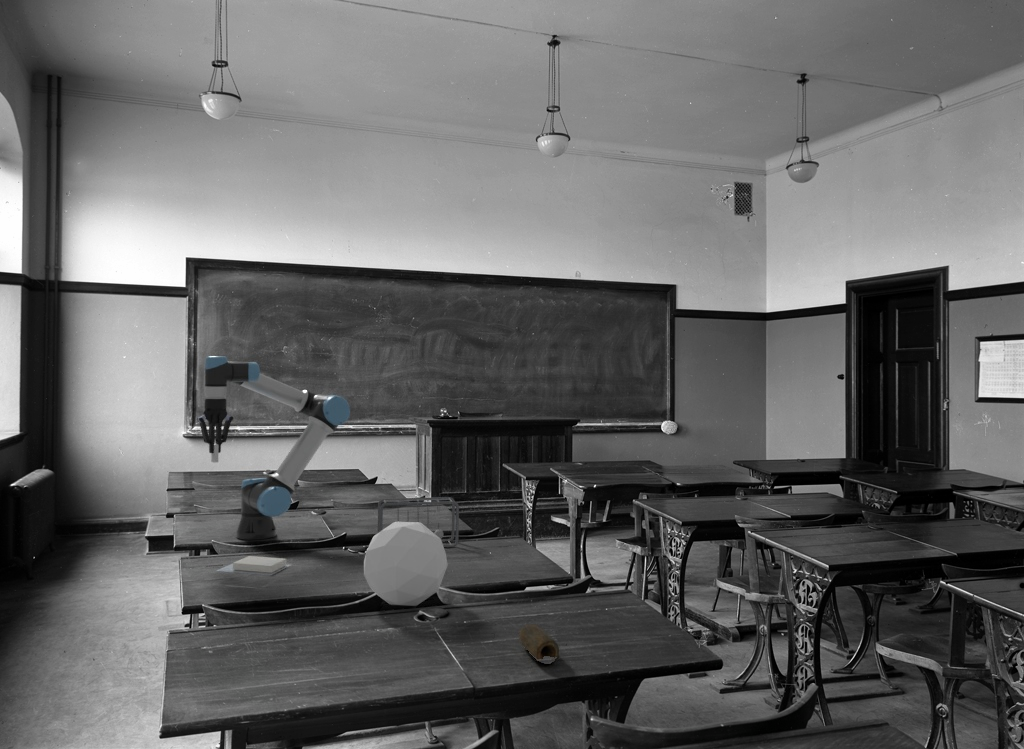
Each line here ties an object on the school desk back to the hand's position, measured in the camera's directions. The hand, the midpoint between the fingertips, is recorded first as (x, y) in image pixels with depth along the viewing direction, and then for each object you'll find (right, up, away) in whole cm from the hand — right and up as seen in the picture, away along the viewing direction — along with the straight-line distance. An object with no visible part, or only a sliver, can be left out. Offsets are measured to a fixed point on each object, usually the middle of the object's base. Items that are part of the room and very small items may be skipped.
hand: (214, 461), depth 294 cm
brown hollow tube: (+116, -36, -101) cm, 158 cm away
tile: (+18, -31, -25) cm, 44 cm away
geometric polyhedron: (+78, -35, -60) cm, 105 cm away
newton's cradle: (+73, -34, +13) cm, 82 cm away
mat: (+23, -33, -26) cm, 48 cm away
